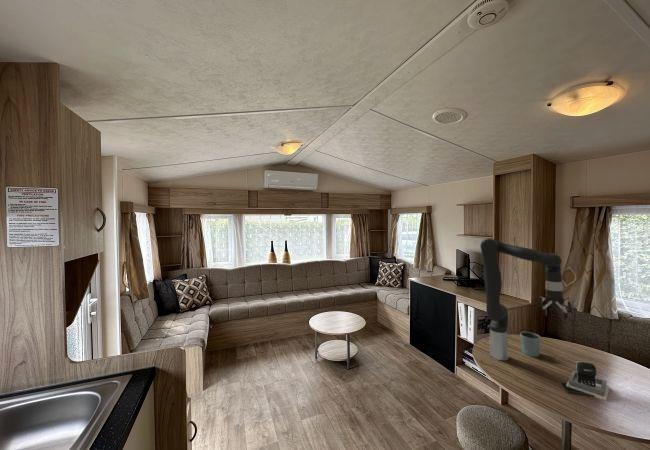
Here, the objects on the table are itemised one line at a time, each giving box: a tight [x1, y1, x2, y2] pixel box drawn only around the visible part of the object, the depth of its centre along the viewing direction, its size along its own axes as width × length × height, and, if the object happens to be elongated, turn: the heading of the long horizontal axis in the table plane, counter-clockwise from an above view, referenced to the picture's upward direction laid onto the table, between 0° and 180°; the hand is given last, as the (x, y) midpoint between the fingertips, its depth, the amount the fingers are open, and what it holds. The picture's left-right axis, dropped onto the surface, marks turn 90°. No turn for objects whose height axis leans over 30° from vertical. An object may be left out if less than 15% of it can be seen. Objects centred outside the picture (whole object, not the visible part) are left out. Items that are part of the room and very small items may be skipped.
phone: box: [559, 382, 595, 398], centre depth 131 cm, size 8×1×15 cm
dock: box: [566, 370, 610, 402], centre depth 133 cm, size 14×14×4 cm
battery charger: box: [575, 360, 597, 387], centre depth 133 cm, size 7×4×11 cm, turn 67°
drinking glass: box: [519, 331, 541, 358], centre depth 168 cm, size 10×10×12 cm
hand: (555, 317), depth 149 cm, fingers open, 8 cm apart
